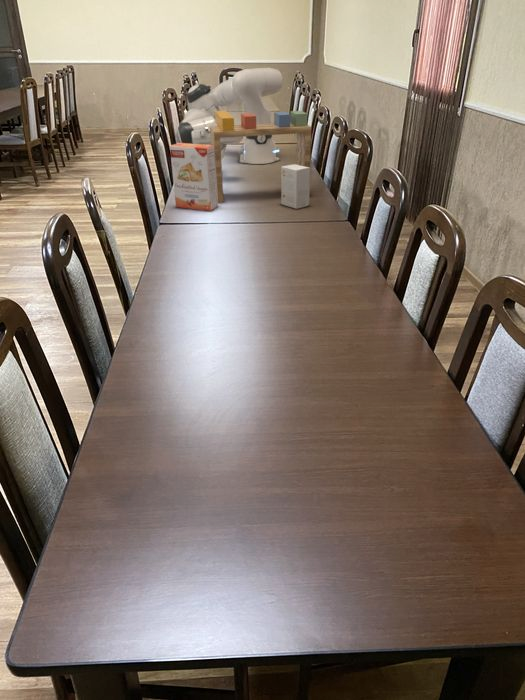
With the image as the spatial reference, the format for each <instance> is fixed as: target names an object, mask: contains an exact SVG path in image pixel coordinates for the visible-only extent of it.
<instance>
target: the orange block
mask: <svg viewBox="0 0 525 700" xmlns="http://www.w3.org/2000/svg"><path fill="white" fill-rule="evenodd" d="M215 123H216V124H217V125H218V126H219V127H220V129H221V130H222V131H234V125H235V118H234V117H233V116H232V115H231V114H230V113H229V112H228V111H227V110H220V111H215Z"/></svg>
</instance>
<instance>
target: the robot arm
mask: <svg viewBox="0 0 525 700" xmlns="http://www.w3.org/2000/svg"><path fill="white" fill-rule="evenodd" d="M283 83H284V78H283V75H282V73H281V71H280V70H279V69H277V68H273V67H255V68H245V69H242V70H239V71H237V72H235V73H234V74H233V76H232V78H229V79H226V80H224V81H222V82H221V83H218V85H217V86H216V87H214V88H213V89H211V88H212V87H211V85H207V84H205V83H198V84H194V85H193V86H191V87H190V88H189V90H188V91H187V92H186V99H187V102H188V103H189V104H190V106H191V108H190V109H189V110H187V111H186V113H185V114H184V116H183V119H182V120H181V121H180V122H179V124H178V127H177V136H178V139H179V143H188V144H203V145H211V137H210V126H218V125H217V124H216V123H215V111H221V108H229V107H233V106H236V105H239V104H243V107H244V110H245V113H252V114H254V115H255V116H256V124H272V117H271V116H272V113H271V109H270V108H269V107H268V106H266V105H265V103H264V101H263V98H264V97H267V96H271V95H273V94H276V93H278V92H280V91H281V89H282V87H283ZM272 137H273V135H261V136H245V141H244V142H243V145H241V146H240V152H242V154H240V157H239V163H241V164H250V165H265V164H272V163H274V162H277V161H280V158H279V157H278V156H277V153H279V152H280V149H276V142H275V141H274V140H273V139H272ZM243 139H244V136H242V137H223V138H220V146H221V161H223V159H224V157H225V154H226V150H227V145H237V144H239V143H241V142H242V141H243Z"/></svg>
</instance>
